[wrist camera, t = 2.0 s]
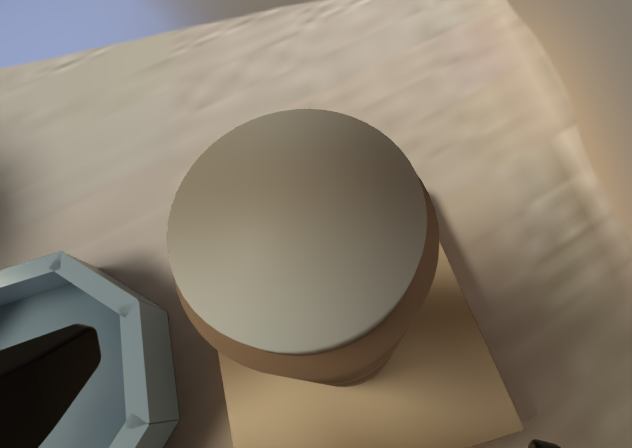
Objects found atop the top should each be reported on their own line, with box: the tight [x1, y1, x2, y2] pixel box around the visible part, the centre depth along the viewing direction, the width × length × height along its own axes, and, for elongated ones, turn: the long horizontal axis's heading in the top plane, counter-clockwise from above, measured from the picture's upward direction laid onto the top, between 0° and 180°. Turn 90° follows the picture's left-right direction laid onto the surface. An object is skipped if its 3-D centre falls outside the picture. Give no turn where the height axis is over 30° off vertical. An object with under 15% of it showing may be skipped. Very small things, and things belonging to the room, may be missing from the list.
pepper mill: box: [167, 109, 439, 387], centre depth 11 cm, size 5×5×12 cm
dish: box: [0, 251, 180, 448], centre depth 17 cm, size 12×12×3 cm
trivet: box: [218, 241, 525, 448], centre depth 17 cm, size 11×11×1 cm
